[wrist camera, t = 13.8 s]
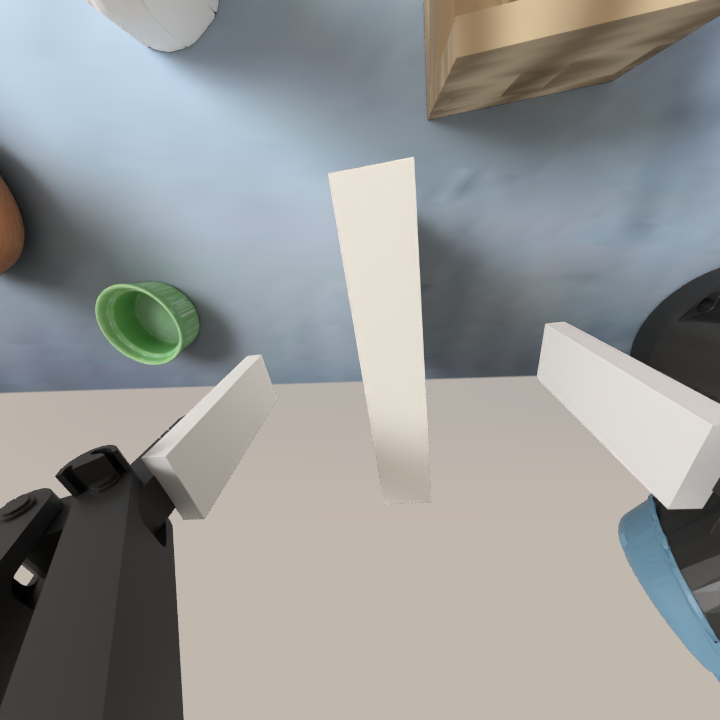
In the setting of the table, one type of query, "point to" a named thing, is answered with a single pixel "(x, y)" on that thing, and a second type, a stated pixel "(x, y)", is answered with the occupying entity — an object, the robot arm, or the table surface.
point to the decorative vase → (160, 20)
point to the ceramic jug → (9, 229)
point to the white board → (387, 317)
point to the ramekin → (147, 320)
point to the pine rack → (543, 45)
